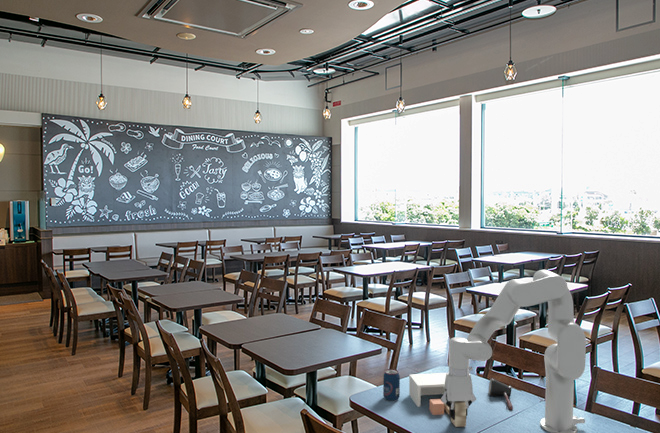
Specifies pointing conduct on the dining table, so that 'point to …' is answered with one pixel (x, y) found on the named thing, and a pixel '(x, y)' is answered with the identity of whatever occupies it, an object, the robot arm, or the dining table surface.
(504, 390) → the coffee pot
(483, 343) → the robot arm
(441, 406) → the block
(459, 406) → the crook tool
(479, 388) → the dining table surface
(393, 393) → the soda can
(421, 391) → the shelf cubby
